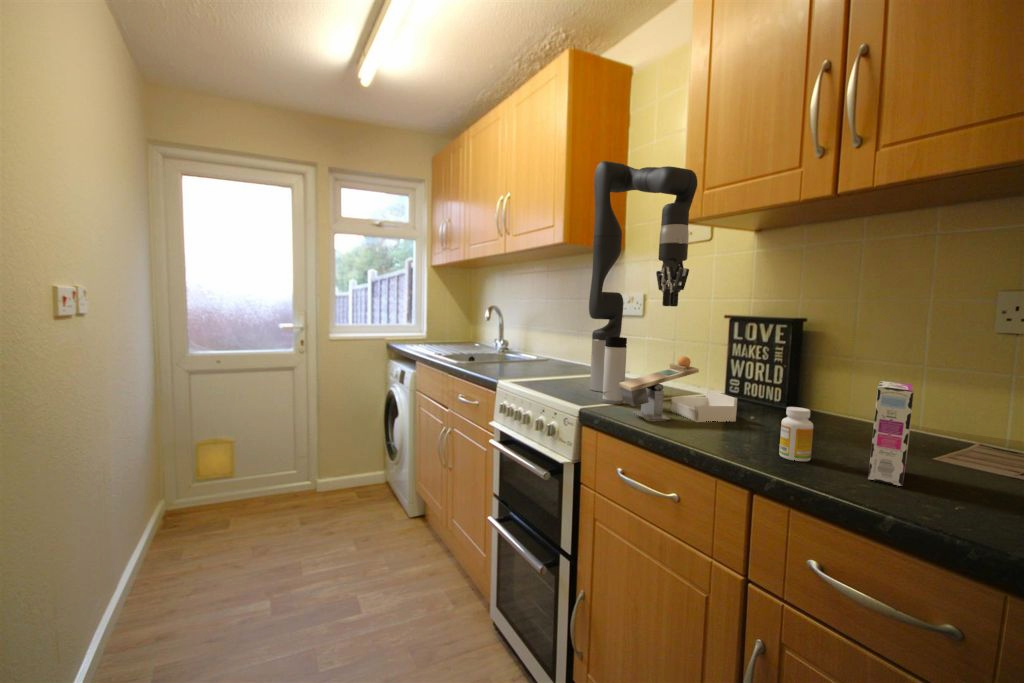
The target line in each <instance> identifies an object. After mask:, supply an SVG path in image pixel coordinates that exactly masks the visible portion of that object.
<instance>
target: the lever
mask: <svg viewBox="0 0 1024 683" xmlns="http://www.w3.org/2000/svg"><path fill="white" fill-rule="evenodd" d="M699 369H700V368H697V367H694V366H689V367H688V368H686V367H684V366H680V365H678V364H675V363H669V368H668V369H664V370H660V371H656V372H653V373H650V374H646V375H643V376H638V377H634V378H632V379H628V380H625V381H624V382H620V383H619V385H620V390H621V395H622V400H623V401H624V403H627V404H629V405H631V406H632V407H637V406H641V404H645V403H648V402H649V401H648V396H647V391H646V387H648V386H652V385H656V384H662V383H666V382H670V381H672V380H676V379H680V378H684V377H687V376H691V375H695V374H698V373H699V372H700V371H699Z"/></svg>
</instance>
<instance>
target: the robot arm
mask: <svg viewBox="0 0 1024 683" xmlns="http://www.w3.org/2000/svg"><path fill="white" fill-rule="evenodd" d="M593 180H594V181H593V188H594V190H593V192H594V229H593V243H592V272H591V273H592V274H591V275H592V276H591V282H590V291H589V300H588V313H589V317H590V319H591V318H592V320H608V323H607V324H605V325H604V326H602V327H600V328H598V329H594V330H593V331H592V334H591V335H592V336H591V354H590V355H591V356H590V357H591V358H590V360H591V361H590V377H589V378H590V379H589V390H591V391H595V392H602V393H603V379H604V358H605V344H606V343H605V342H606V337H612V336H619V337H621V334H622V324H623V323H622V322H623V316H624V315H623V314H624V297H623V295H622V294H621V293H620V292H618V291H617V292H613V291H612V292H611V291H603V288H604V283H605V279H606V277H607V275H608V273H609V272H610V271H611V269H612V268H613V266H614V265H615V264H616V262H617V261H618V258H619V257H620V255H621V253H622V244H623V243H622V242H623V241H622V240H623V239H622V238H623V232H622V228H621V225H620V223H619V221H618V219H617V216H616V214H615V213H614V210H613V208H612V202H611V193H616V194H618V193H619V194H620V193H625V192H629V191H630V192H631V191H638V192H643V193H651V194H653V193H654V194H666V195H671V196H672V195H673V196H675V200H674V202H671V203H668V204H665V205H664V206H663V207H662V210H661V222H660V223H661V224H660V232H659V241H658V242H659V243H658V244H659V246H658V258H657V259H658V261H660V262H662V265H661V270H657V271H656V279H657V280H656V281H657V288H658V290H659V291H661V293H662V307H678V306H679V293H681V291H684V290H685V287H686V283H687V279H688V277H689V274H690V269H689V268H686V267H684V263H683V262H686V261H687V260H688V253H689V239H690V238H689V237H690V236H689V235H690V231H689V219H690V217H689V216H690V209H691V207H692V203H693V200H694V197H695V194H696V192H697V189H698V177H697V174H696V172H694V171H693V170H692V169H688V168H681V167H677V166H670V165H669V166H660V167H658V166H657V167H655V166H653V167H652V166H650V167H649V166H646V167H642V168H640V169H639V168H636V167H635V168H634V167H632V166H629V165H626V164H624V163H620V162H613V161H609V160H608V161H607V160H603V161H601V162H599V163H598V165H597V166H596V168H595V171H594V179H593Z"/></svg>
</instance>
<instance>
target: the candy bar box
mask: <svg viewBox="0 0 1024 683" xmlns="http://www.w3.org/2000/svg"><path fill="white" fill-rule="evenodd" d="M876 392H877V393H876V400H875V409H874V420H873V430H872V436H871V437H872V439H871V449H870V456H869V457H870V458H869V464H868V465H869V467H868V474H867V480H869V481H870V480H874V481H873V482H875V481H880V482H884V483H889V484H893V485H897V486H896V487H898V486H904V479H905V471H906V466H907V465H906V464H907V458H908V450H909V441H910V434H911V423H912V415H913V405H914V393H915V390H914V388H913V384H911V383H903V382H895V381H894V382H893V381H884V380H880V381H879V383H878V385H877V391H876ZM884 483H883V484H884ZM893 485H892V486H893Z"/></svg>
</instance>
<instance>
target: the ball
mask: <svg viewBox="0 0 1024 683" xmlns="http://www.w3.org/2000/svg"><path fill="white" fill-rule="evenodd" d="M691 363H692V362H691V359H690V358H689V357H688V356H686V355H683V356H680V357H679V358H678V360H677V365H680V366H684V367H686V368H688V367H689V366H690V365H691ZM690 367H691V366H690Z"/></svg>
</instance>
